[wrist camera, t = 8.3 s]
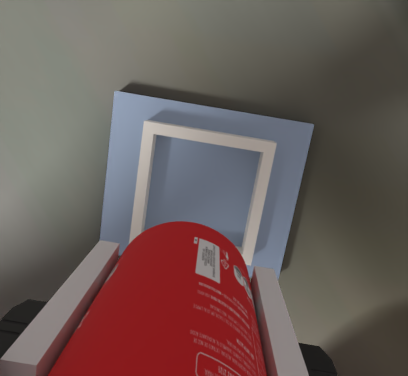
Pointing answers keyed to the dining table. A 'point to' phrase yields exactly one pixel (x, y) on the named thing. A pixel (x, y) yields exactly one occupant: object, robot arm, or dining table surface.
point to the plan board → (203, 173)
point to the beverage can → (170, 311)
